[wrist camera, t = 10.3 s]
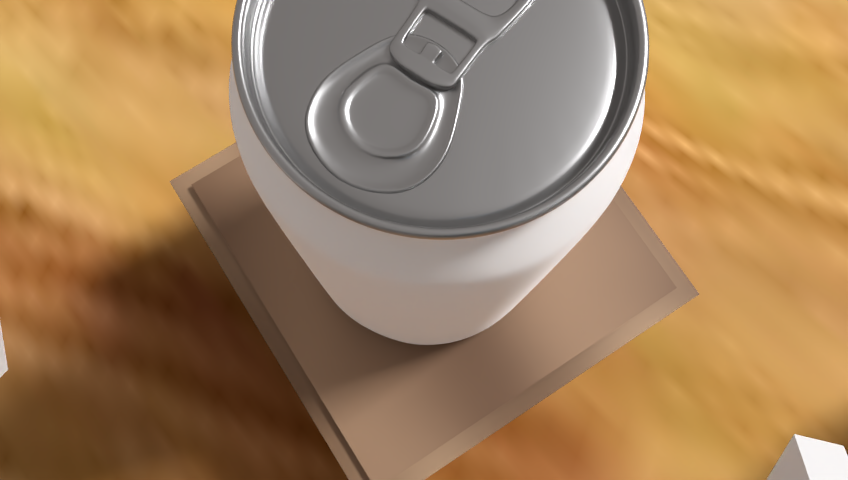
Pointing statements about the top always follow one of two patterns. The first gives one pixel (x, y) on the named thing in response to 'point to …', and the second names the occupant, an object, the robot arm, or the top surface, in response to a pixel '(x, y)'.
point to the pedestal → (429, 364)
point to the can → (436, 144)
